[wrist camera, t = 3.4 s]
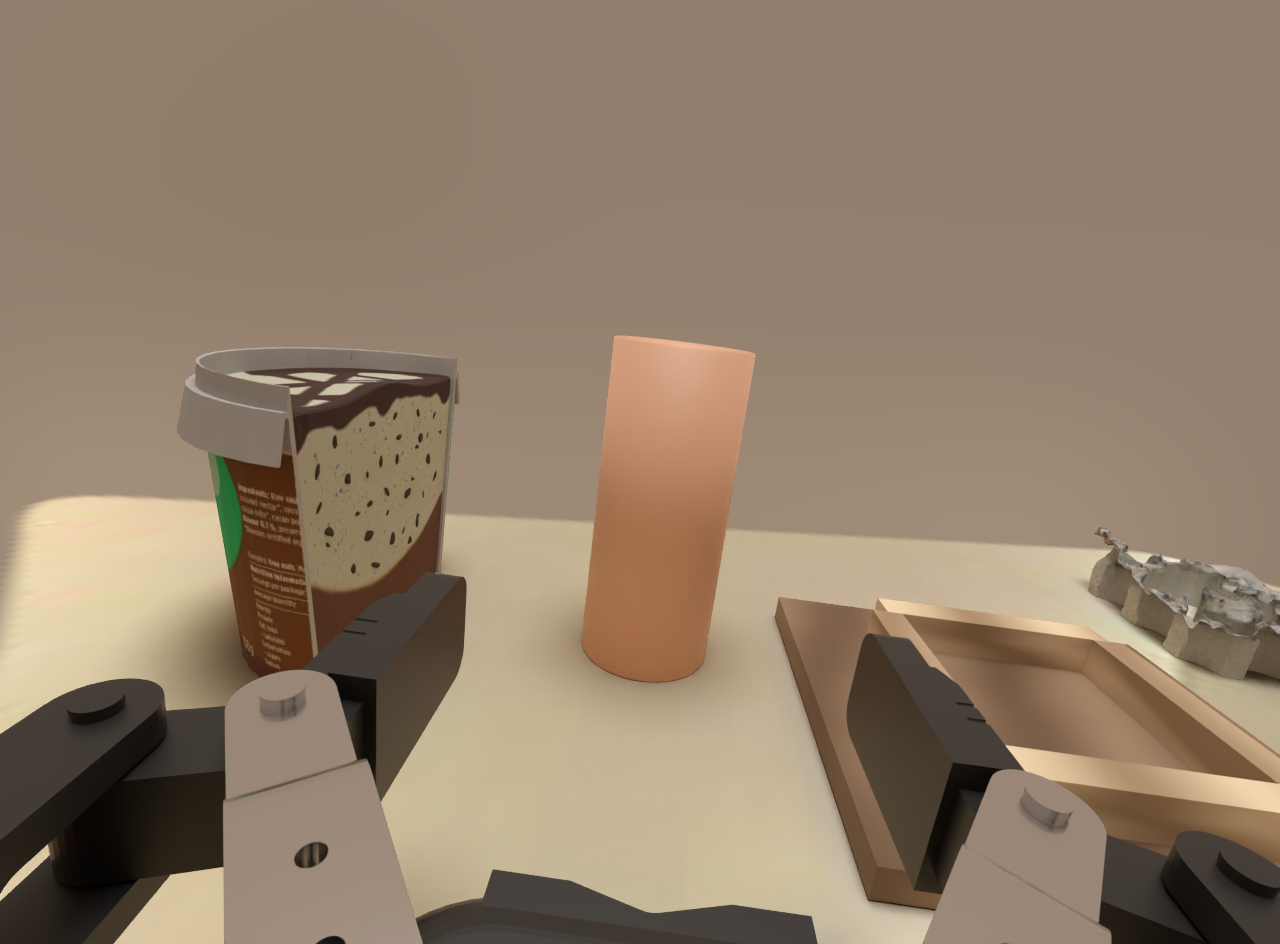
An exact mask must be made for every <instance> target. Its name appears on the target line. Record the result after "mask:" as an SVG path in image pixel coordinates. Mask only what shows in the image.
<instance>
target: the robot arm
mask: <svg viewBox="0 0 1280 944" xmlns="http://www.w3.org/2000/svg"><path fill="white" fill-rule="evenodd" d="M465 611H466V581H465V578H464V577H459V576H452V575H445V574H437V573H430V572H426V573H424V574H423V575H422V576H421V577H420V578H419V579H418V580H417V581H416V583H415V584H414V585H413V586H412V587H411V588H410V589H409V590H408V591H407V592H406V593H405V594H401V593H393V594H390V595H388V596H386V597H384V598H382V599H380V600H378V601H376V602H373V603H371V604H370V605H369V606H368V607H367V608H366V609H365V610H364V611H363V612H362V613H361V614H360V615H359V616H358V617H357V618H356V621H352V622H351V623H350V624H349V625H348V626H347V627H346V628H345V629H344V630H343V633H340V634H339V635H338V636H336V637H335V638H334V639H333V640H332V641H331V642H330V643H329V644H328V645H327V646H326V647H325V648H324V649H323V650H322V651H321V652H320V653H319V654H318V655H316V656H315V657H314V658H313V659H312V660H311V661H310V662H309V663H308V664H307V665H306V666H305V667H304V668H303V669H302V670H289V671H283V672H278V673H274V674H270V675H267V676H264V677H261V678H259V679H256V680H254V681H252V682H250V683H248V684H246V685H245V686H243V687H242V688H240V689H239V690H238V691H237V692H235V693H234V694H233V695H232V696H231V698H230V699H229V700H228V702H227V704H226V706H222V707H211V708H197V709H184V710H170V711H166V707H165V698H164V692H163V689H162V688H161V687H160V686H159V685H158V684H156V683H154V682H152V681H148V680H143V679H117V680H109V681H104V682H99V683H95V684H91V685H87V686H84V687H81V688H78V689H75V690H73V691H70V692H68V693H66V694H63V695H61V696H59V697H57V698H55V699H53V700H52V701H50V702H48V703H47V704H45V705H43V706H42V707H40V708H39V709H37V710H36V711H34V712H33V713H31V714H30V715H28V716H27V717H25V718H24V719H22V720H21V721H19V722H18V723H16V724H15V725H13V726H12V727H10V728H9V729H7V730H6V731H4V732H3V733H1V734H0V893H1V892H2V890H3V888H4V887H5V886H6V884H7V883H8V882H9V880H10V879H11V878H12V877H13V876H14V875H15V874H16V873H17V872H18V871H19V870H20V869H21V868H22V867H23V866H24V865H25V864H26V863H27V862H28V861H30V860H31V859H32V858H33V857H34V856H35V855H36V854H37V853H38V852H40V851H41V850H42V849H43V848H44V847H45V846H46V845H47V844H48V847H49V853H50V856H49V857H48V858H46V859H45V860H44V861H43V862H42V863H41V864H40V865H39V866H38V867H37V868H36V869H35V870H34V871H32V872H31V873H30V874H29V875H28V876H27V877H26V878H25V879H24V880H23V881H22V882H21V883H20V884H18V885H17V886H16V887H15V888H14V889H13V890H12V891H11V892H10V893H9V894H8V895H7V896H5V897H4V898H3V899H2V900H1V901H0V944H114V942H115V941H116V940H117V939H118V938H119V936H120V935H121V934H122V933H123V932H124V930H125V929H126V928H127V927H128V925H129V924H130V923H131V922H132V921H133V919H134V918H135V917H136V916H137V915H138V913H139V912H140V911H141V910H142V909H143V907H144V906H145V905H146V904H147V903H148V901H149V900H150V899H151V898H152V897H153V895H154V894H155V893H156V892H157V890H158V889H159V888H160V887H161V886H162V884H163V883H164V882H165V881H166V880H167V878H168V877H169V876H170V875H171V874H178V873H185V872H192V871H198V870H205V869H212V868H219V867H224V944H818V943H817V939H816V934H815V930H814V926H813V921H812V917H811V916H805V915H798V914H791V913H784V912H778V911H771V910H764V909H757V908H751V907H744V906H737V905H726V906H717V907H709V908H700V909H691V910H682V911H673V912H664V913H648V912H645V911H642V910H639V909H637V908H634V907H632V906H630V905H627V904H625V903H622V902H620V901H618V900H615V899H613V898H610V897H608V896H605V895H603V894H601V893H598V892H596V891H593V890H591V889H589V888H586V887H584V886H581V885H579V884H577V883H574V882H572V881H568V880H561V879H554V878H547V877H541V876H534V875H527V874H520V873H514V872H507V871H500V870H492V873H491V876H490V879H489V882H488V885H487V889H486V892H485V895H484V898H480V899H472V900H467V901H463V902H459V903H454V904H450V905H447V906H444V907H442V908H439V909H436V910H433V911H430V912H428V913H426V914H424V915H422V916H420V917H418V918H415V916H414V912H413V909H412V906H411V902H410V899H409V896H408V892H407V889H406V886H405V882H404V879H403V876H402V872H401V869H400V865H399V862H398V859H397V855H396V852H395V849H394V845H393V842H392V839H391V835H390V832H389V829H388V825H387V822H386V819H385V815H384V812H383V808H382V805H381V801H382V799H383V797H384V796H385V794H386V792H387V791H388V789H389V787H390V786H391V784H392V782H393V781H394V779H395V777H396V776H397V774H398V773H399V771H400V769H401V768H402V766H403V764H404V763H405V761H406V759H407V758H408V756H409V754H410V753H411V751H412V749H413V748H414V746H415V744H416V743H417V741H418V739H419V738H420V736H421V734H422V733H423V731H424V730H425V728H426V726H427V725H428V723H429V721H430V720H431V718H432V716H433V715H434V713H435V711H436V710H437V708H438V706H439V705H440V703H441V701H442V700H443V698H444V696H445V695H446V693H447V691H448V690H449V688H450V687H451V685H452V683H453V682H454V680H455V678H456V676H457V674H458V671H459V668H460V665H461V661H462V656H463V649H464V632H465ZM847 727H848V732H849V735H850V738H851V740H852V743H853V745H854V748H855V750H856V752H857V755H858V757H859V760H860V762H861V765H862V767H863V769H864V772H865V774H866V777H867V779H868V781H869V784H870V786H871V789H872V791H873V793H874V796H875V798H876V801H877V803H878V806H879V808H880V810H881V813H882V815H883V818H884V820H885V822H886V825H887V827H888V830H889V832H890V834H891V837H892V839H893V842H894V844H895V847H896V849H897V851H898V854H899V856H900V859H901V861H902V863H903V866H904V868H905V871H906V873H907V875H908V878H909V880H910V883H911V885H912V888H913V890H915V891H921V892H928V893H935V894H942V896H941V899H940V901H939V904H938V906H937V909H936V911H935V914H934V916H933V919H932V921H931V924H930V926H929V929H928V931H927V934H926V936H925V939H924V941H923V944H1280V868H1279V867H1278V866H1276V865H1275V864H1274V863H1272V862H1270V861H1269V860H1267V859H1266V858H1264V857H1262V856H1261V855H1259V854H1257V853H1255V852H1253V851H1252V850H1250V849H1248V848H1246V847H1244V846H1242V845H1240V844H1238V843H1235V842H1233V841H1231V840H1228V839H1226V838H1223V837H1220V836H1217V835H1214V834H1210V833H1206V832H1201V831H1184V832H1181V833H1179V834H1178V835H1177V836H1176V838H1175V841H1174V843H1173V845H1172V847H1171V850H1170V852H1169V854H1168V856H1165V855H1163V854H1160V853H1157V852H1154V851H1151V850H1149V849H1146V848H1143V847H1140V846H1137V845H1135V844H1132V843H1129V842H1126V841H1123V840H1121V839H1118V838H1115V837H1112V836H1110V835H1107V834H1106V830H1105V827H1104V825H1103V823H1102V821H1101V820H1100V818H1099V817H1098V816H1097V814H1096V813H1095V812H1094V811H1093V810H1092V809H1091V808H1090V807H1089V806H1088V805H1087V804H1086V803H1085V802H1084V801H1082V800H1081V799H1080V798H1079V797H1077V796H1076V795H1075V794H1073V793H1072V792H1071V791H1069V790H1067V789H1066V788H1064V787H1062V786H1061V785H1059V784H1057V783H1055V782H1053V781H1051V780H1049V779H1047V778H1044V777H1042V776H1039V775H1037V774H1034V773H1030V772H1026V771H1025V770H1024V769H1023V768H1022V766H1021V765H1020V764H1019V762H1018V761H1017V760H1016V759H1015V757H1014V756H1013V755H1012V753H1011V752H1010V751H1009V749H1008V748H1007V747H1006V745H1005V744H1004V743H1003V742H1002V740H1001V739H1000V738H999V736H998V735H997V734H996V732H995V731H994V730H993V729H992V727H991V726H990V725H989V724H986V719H985V718H984V717H983V716H982V714H981V713H980V712H979V710H978V709H977V708H974V704H973V702H972V701H971V700H970V699H969V697H968V696H967V695H966V693H965V692H964V691H963V689H962V688H961V687H960V686H959V685H958V684H957V683H956V682H954V681H953V680H952V679H950V678H949V677H948V676H946V675H945V674H944V673H942V672H941V671H940V670H938V669H937V668H935V667H930V666H929V665H928V663H927V662H926V661H925V659H924V658H923V657H922V655H921V654H920V652H919V651H918V650H917V648H916V647H915V645H914V644H913V643H912V641H911V640H910V639H908V638H902V637H895V636H888V635H880V634H873V633H868V634H867V635H866V636H865V637H864V639H863V642H862V645H861V649H860V653H859V657H858V661H857V665H856V669H855V673H854V677H853V682H852V686H851V690H850V694H849V698H848V703H847Z"/></svg>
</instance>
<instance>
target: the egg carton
mask: <svg viewBox="0 0 1280 944" xmlns="http://www.w3.org/2000/svg"><path fill="white" fill-rule="evenodd" d="M1095 534H1096V535H1099V536H1101V537H1104V543H1105V544H1107V545H1114V546H1115V547H1114V548H1113V549H1112V551H1111V552H1110V553H1108V554H1107V555H1106V556H1105V557H1104V558H1102V559H1101V560H1099V561H1097V563H1096V564H1095V566H1094V568H1093V570H1092V574H1091V579H1090V584H1089V589H1088V591H1089V592H1090V593H1092V594H1093V595H1095V596H1096V597H1099V598H1103V599H1106V600H1109V601H1112V602H1115V603H1117V604H1119V605H1121V606H1123V608H1122V611H1121V616H1122V617H1123V618H1125V619H1127V620H1128V621H1130V622H1132V623H1133V624H1135V625H1137V626H1141V627H1144V628H1147V629H1150V630H1153V631H1155V632H1157V633H1159V634H1161V635H1163V636H1165V637H1167V638H1166V639H1165V641H1164V643H1163V645H1162V647H1163V648H1164V649H1165V650H1166V651H1167V652H1169V653H1170V654H1172V655H1173V656H1175V657H1177V658H1180V659H1183V660H1187V661H1190V662H1193V663H1196V664H1198V665H1200V666H1203V667H1205V668H1207V669H1209V670H1211V671H1213V672H1215V673H1216V674H1218V675H1220V676H1223V677H1228V678H1234V679H1239V680H1244V676H1245V674H1246V672H1247V670H1248V671H1254V672H1258V673H1261V674H1265V675H1268V676H1270V677H1273V678H1276V679H1278V680H1280V592H1278V591H1274V590H1271V589H1270V588H1268V587H1266V586H1265V585H1264V584H1263V583H1262V582H1261V581H1259V580H1258V579H1257V578H1256V577H1255V576H1254V575H1253V574H1252V573H1250V572H1249V571H1247V570H1244V569H1242V568H1240V567H1233V566H1224V565H1211V564H1209V565H1206V564H1203V563H1200V562H1190V561H1189V560H1188V559H1186V558H1185V559H1183V560H1181V561H1180V562H1168V561H1166V560H1164V559H1163V558H1162V556H1161V555H1160V554H1154V555H1152V556H1151V557H1150V558H1149V559H1148V561H1147V562H1146V563H1140V562H1137V561H1136V560H1135V559H1134V558H1132V557H1131V556H1130V555H1129V554H1128V553H1127V549H1128V546H1127V545H1126V544H1125V543H1123V542H1121V541H1119V540H1118V539H1116V538H1112V537H1110V532H1109V531H1107V530H1106V528H1099V529H1098V530H1097V531H1096V533H1095ZM1186 604H1187V605H1186ZM1188 605H1191V606H1194V607H1198V609H1197V612H1196V615H1195V617H1194V619H1192V618H1190V617H1189V616H1187V615H1186V614H1187V611H1188Z"/></svg>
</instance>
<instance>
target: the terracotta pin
mask: <svg viewBox="0 0 1280 944" xmlns="http://www.w3.org/2000/svg"><path fill="white" fill-rule="evenodd" d="M755 355H756V354H754V353H751V352H747V351H741V350H735V349H730V348H724V347H717V346H711V345H704V344H696V343H688V342H681V341H673V340H664V339H655V338H645V337H633V336H614V345H613V355H612V364H611V373H610V383H609V392H608V401H607V410H606V420H605V429H604V439H603V448H602V457H601V467H600V475H599V485H598V494H597V504H596V514H595V522H594V531H593V540H592V550H591V559H590V568H589V578H588V587H587V596H586V606H585V615H584V624H583V633H582V646H583V649H584V651H585V653H586V654H587V656H588V657H589V658H590V659H591V660H592V661H593V662H594V663H595V664H597V665H598V666H599V667H601V668H603V669H604V670H606V671H608V672H610V673H613V674H615V675H618V676H621V677H624V678H628V679H632V680H637V681H645V682H666V681H673V680H677V679H681V678H684V677H686V676H688V675H690V674H692V673H694V672H695V671H696V670H698V668H699V667H700V666H701V665H702V663H703V661H704V657H705V651H706V645H707V639H708V633H709V628H710V622H711V616H712V610H713V604H714V598H715V592H716V586H717V580H718V574H719V568H720V562H721V557H722V551H723V545H724V539H725V533H726V527H727V521H728V515H729V509H730V503H731V497H732V491H733V485H734V480H735V474H736V468H737V462H738V456H739V450H740V444H741V438H742V432H743V426H744V420H745V414H746V409H747V403H748V397H749V391H750V385H751V379H752V373H753V367H754V361H755Z"/></svg>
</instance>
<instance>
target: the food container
mask: <svg viewBox="0 0 1280 944" xmlns="http://www.w3.org/2000/svg"><path fill="white" fill-rule="evenodd" d="M459 403H460V397H459V373H457V359H454V358H446V357H439V356H430V355H421V354H410V353H399V352H387V351H373V350H357V349H336V348H298V347H297V348H296V347H294V348H293V347H287V348H286V347H285V348H284V347H278V348H248V349H234V350H224V351H217V352H212V353H208V354H204V355H201V356H200V357H198V358H196V374H195V375H192V376H190V377H189V378H188V379H186V383H185V388H184V393H183V399H182V404H181V410H180V415H179V420H178V427H177V433H178V434H179V435H180V437H181V438H182V439H183V440H184V441H186V442H188V443H189V444H191V445H193V446H195V447H197V448H199V449H202V450H205V451H207V452H208V457H209V462H210V468H211V474H212V480H213V484H214V491H215V497H216V502H217V508H218V514H219V519H220V525H221V531H222V537H223V542H224V548H225V554H226V559H227V565H228V571H229V576H230V582H231V588H232V593H233V599H234V605H235V611H236V616H237V622H238V628H239V633H240V639H241V645H242V650H243V656H244V658H245V660H246V662H247V663H248V665H249V667H250V668H251V669H252V670H253V671H254V672H255V673H256V674H258V675H259V676H260V677H264V676H267V675H270V674H274V673H278V672H283V671H289V670H302V669H303V668H304V667H305V666H306V665H307V664H308V663H309V662H310V661H311V660H312V659H313V658H314V657H315V656H316V655H318V654H319V653H320V652H321V651H322V650H323V649H324V648H325V647H326V646H327V645H328V644H329V643H330V642H331V641H332V640H333V639H334V638H335V637H336V636H338V635H339V634H340V633H343V630H344V629H345V628H346V627H347V626H348V625H349V624H350V623H351V622H352V621H356V618H357V617H358V616H359V615H360V614H361V613H362V612H363V611H364V610H365V609H366V608H367V607H368V606H369V605H370V604H371V603H373V602H376V601H378V600H380V599H382V598H384V597H386V596H388V595H390V594H393V593H401V594H405V593H406V592H407V591H408V590H409V589H410V588H411V587H412V586H413V585H414V584H415V583H416V581H417V580H418V579H419V578H420V577H421V576H422V575H423V574H424V573H426V572H430V573H437V574H440V573H441V560H442V548H443V535H444V523H445V510H446V497H447V485H448V472H449V460H450V447H451V435H452V422H453V410H454V404H459Z"/></svg>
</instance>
